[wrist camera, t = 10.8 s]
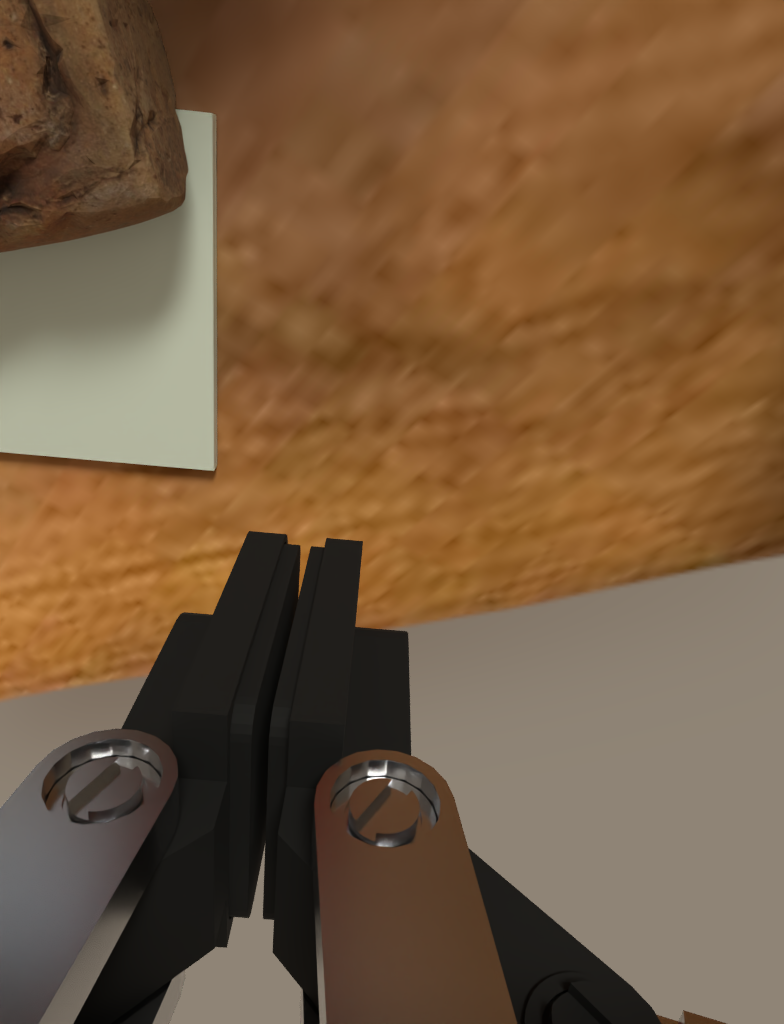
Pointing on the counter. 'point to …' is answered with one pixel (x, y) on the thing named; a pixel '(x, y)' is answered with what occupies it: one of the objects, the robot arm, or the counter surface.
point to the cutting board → (119, 334)
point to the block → (84, 121)
